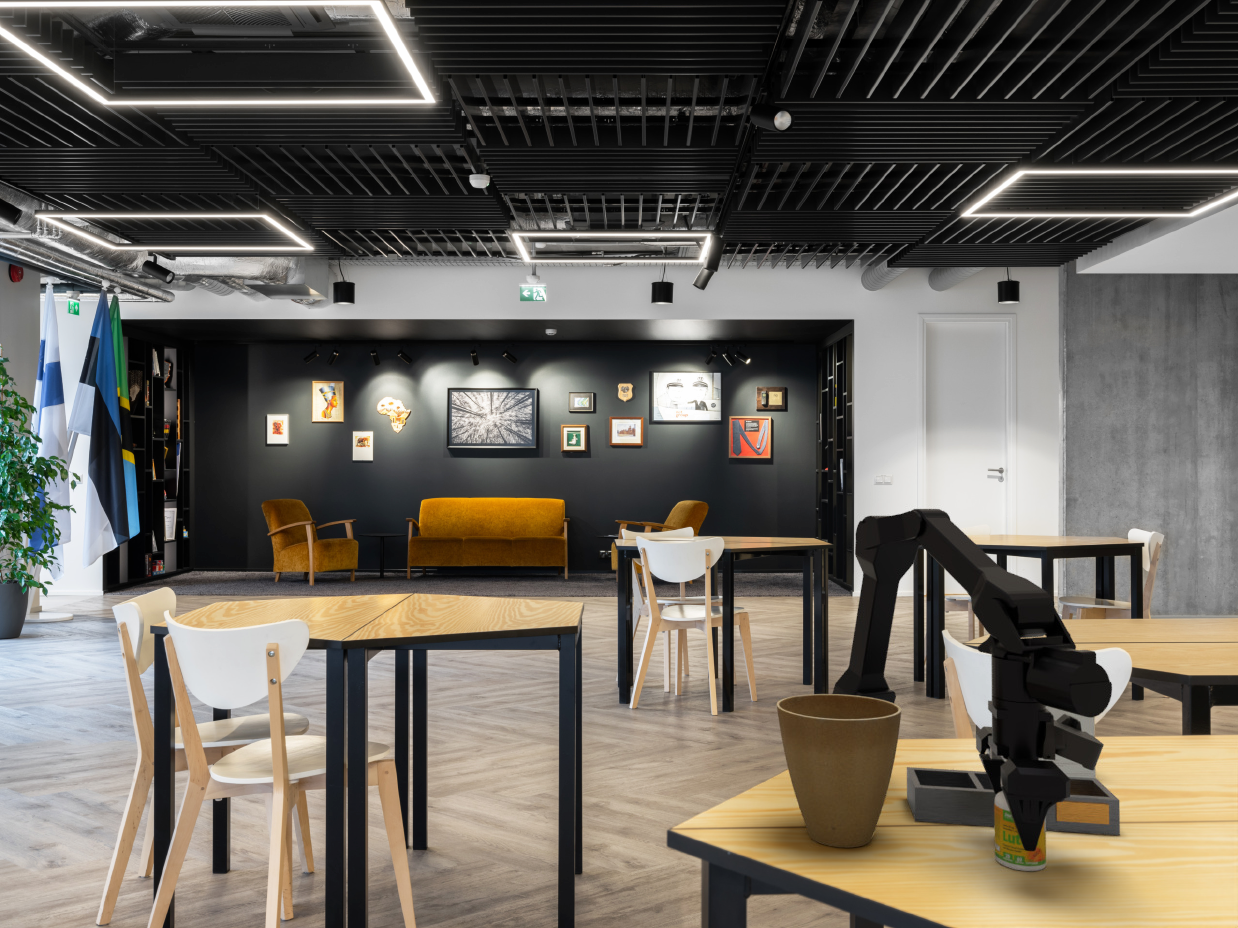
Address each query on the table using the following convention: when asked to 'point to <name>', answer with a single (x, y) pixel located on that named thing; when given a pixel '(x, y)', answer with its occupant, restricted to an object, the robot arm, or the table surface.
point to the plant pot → (839, 762)
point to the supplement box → (1067, 765)
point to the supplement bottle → (1015, 841)
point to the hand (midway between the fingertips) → (1019, 835)
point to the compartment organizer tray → (974, 798)
